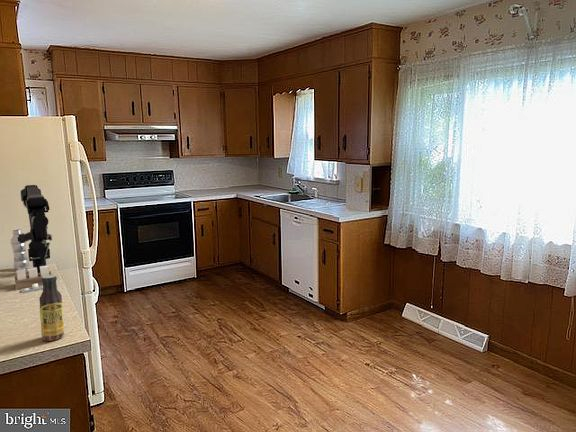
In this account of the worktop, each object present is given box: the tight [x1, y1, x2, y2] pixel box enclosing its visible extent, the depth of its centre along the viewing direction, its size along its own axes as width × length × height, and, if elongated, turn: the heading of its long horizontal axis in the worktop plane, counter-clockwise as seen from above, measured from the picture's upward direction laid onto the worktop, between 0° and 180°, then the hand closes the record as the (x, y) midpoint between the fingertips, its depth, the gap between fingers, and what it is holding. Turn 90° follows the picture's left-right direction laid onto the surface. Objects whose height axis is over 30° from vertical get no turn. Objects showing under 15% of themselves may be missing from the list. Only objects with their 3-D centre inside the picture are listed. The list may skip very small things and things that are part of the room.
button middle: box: [27, 266, 38, 278], centre depth 189 cm, size 3×3×5 cm
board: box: [14, 270, 53, 291], centre depth 190 cm, size 10×14×4 cm
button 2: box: [40, 264, 50, 276], centre depth 192 cm, size 3×3×5 cm
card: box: [20, 283, 43, 294], centre depth 183 cm, size 4×10×2 cm, turn 123°
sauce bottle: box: [39, 274, 65, 342], centre depth 133 cm, size 6×6×20 cm
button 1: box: [15, 269, 27, 280], centre depth 187 cm, size 3×3×5 cm
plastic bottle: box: [10, 229, 30, 271], centre depth 213 cm, size 6×7×20 cm
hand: (43, 260), depth 191 cm, fingers closed
